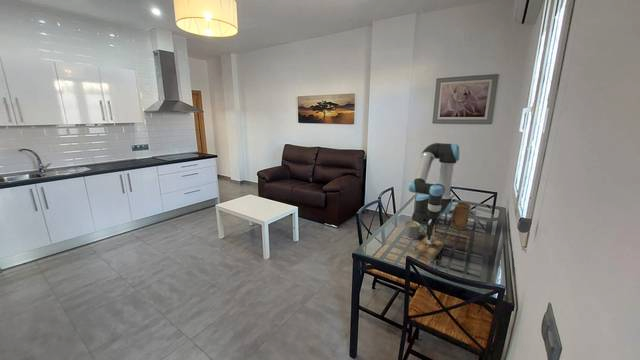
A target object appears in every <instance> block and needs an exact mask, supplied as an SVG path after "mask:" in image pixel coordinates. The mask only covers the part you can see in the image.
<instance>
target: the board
mask: <svg viewBox="0 0 640 360" xmlns="http://www.w3.org/2000/svg"><path fill="white" fill-rule="evenodd" d="M426 242H427V236H425V237H424V238H423V239H422V240H421V241H420V242H419V243H418V244H417V245H416V246H415V248H414V254H417V255H419V256H423V257H424V258H427V259H430V260H433V261H434V260H435V258H437V256H439V255H438V254H439V253H441V251H442V249H444V242H442V241H440V240H437V239H434V242H433V246H432V248H431V247H428V246H427V243H426Z"/></svg>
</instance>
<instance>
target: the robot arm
mask: <svg viewBox="0 0 640 360" xmlns="http://www.w3.org/2000/svg"><path fill="white" fill-rule="evenodd" d="M420 154H421V155H420V158H421V160H420V162H419V165H418V168H417V171H416V174H415V176H414V180H410V181H409V183H408V192H410V193H414V194H416V197H415V205H414V207H415V209H414V211H413V213H412V216H411V221H415V222H418V223H419V225H426V232H425V235H426V237H427V242H426V243H427V244H430V245H431V240H432V230H433V226H434V224H435V225H436V226H435V233H437V226H438V225H437V224H438V221H439V217H440V216H441V214H449V213H450V211H451V208H452V205H453V201H454V199H453V198H451V197H452V195H450V193H451V187H452V180H453V179H452V178H453V172H454V165H455V164H457V162H458V161H459V160H460V146H459V144H456V143H455V144H454V143H444V142H440V143H439V142H434V143H431V144H430V145H427V146H426V147H425V148H424V149H423V151H422V152H421V153H420ZM435 159H437V160H439V161H438V163H440V168H439V178H438V183H428V182H427V180H428V176H429V173H430V170H431V166H432V163H433V162H434V160H435ZM440 212H441V213H440Z"/></svg>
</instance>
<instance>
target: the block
mask: <svg viewBox="0 0 640 360" xmlns="http://www.w3.org/2000/svg"><path fill="white" fill-rule="evenodd" d="M470 209H471V205H470V204H469V203H464V202H457V204H455V206H454V209H453V212H452V217H451V222H450V224H451V226H450V227H452V228H454V229H456V230H461V231H465V230H466V229H467V226H468V222H469V216H470V211H471V210H470Z"/></svg>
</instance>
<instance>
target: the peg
mask: <svg viewBox="0 0 640 360" xmlns="http://www.w3.org/2000/svg"><path fill="white" fill-rule="evenodd" d="M435 226H436V225H435V224H434V226H433V230H432V240H431V245H430V244H427V246H428V247H431V248H432V246H433V242H434V240H435V233H436V232H435V231H436V230H435Z"/></svg>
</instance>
